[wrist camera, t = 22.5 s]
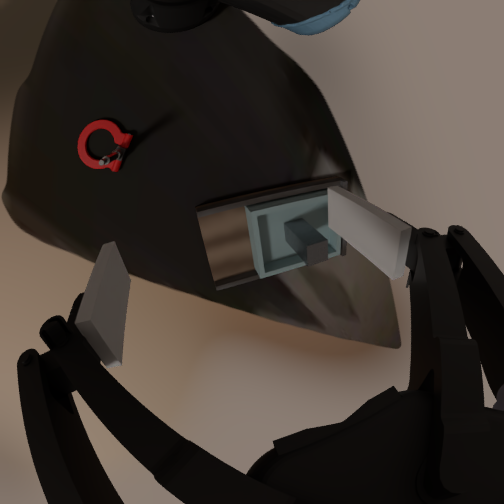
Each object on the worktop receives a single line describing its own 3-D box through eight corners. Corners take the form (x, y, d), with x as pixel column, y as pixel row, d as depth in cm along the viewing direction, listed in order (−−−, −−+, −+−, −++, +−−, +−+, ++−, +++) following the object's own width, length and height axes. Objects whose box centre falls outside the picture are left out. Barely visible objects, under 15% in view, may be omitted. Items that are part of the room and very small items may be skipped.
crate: (244, 204, 49) (250, 212, 46) (330, 186, 52) (341, 191, 49) (254, 268, 56) (260, 278, 53) (330, 245, 59) (340, 254, 56)
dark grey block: (283, 222, 52) (306, 246, 44) (302, 217, 53) (327, 239, 44) (285, 240, 54) (307, 266, 46) (303, 235, 55) (328, 259, 46)
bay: (195, 206, 48) (197, 214, 44) (336, 176, 53) (347, 181, 49) (214, 282, 56) (217, 293, 53) (336, 246, 62) (346, 254, 58)
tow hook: (73, 159, 37) (117, 176, 41) (40, 173, 26) (96, 195, 30) (90, 113, 35) (136, 130, 38) (60, 112, 23) (119, 133, 27)
